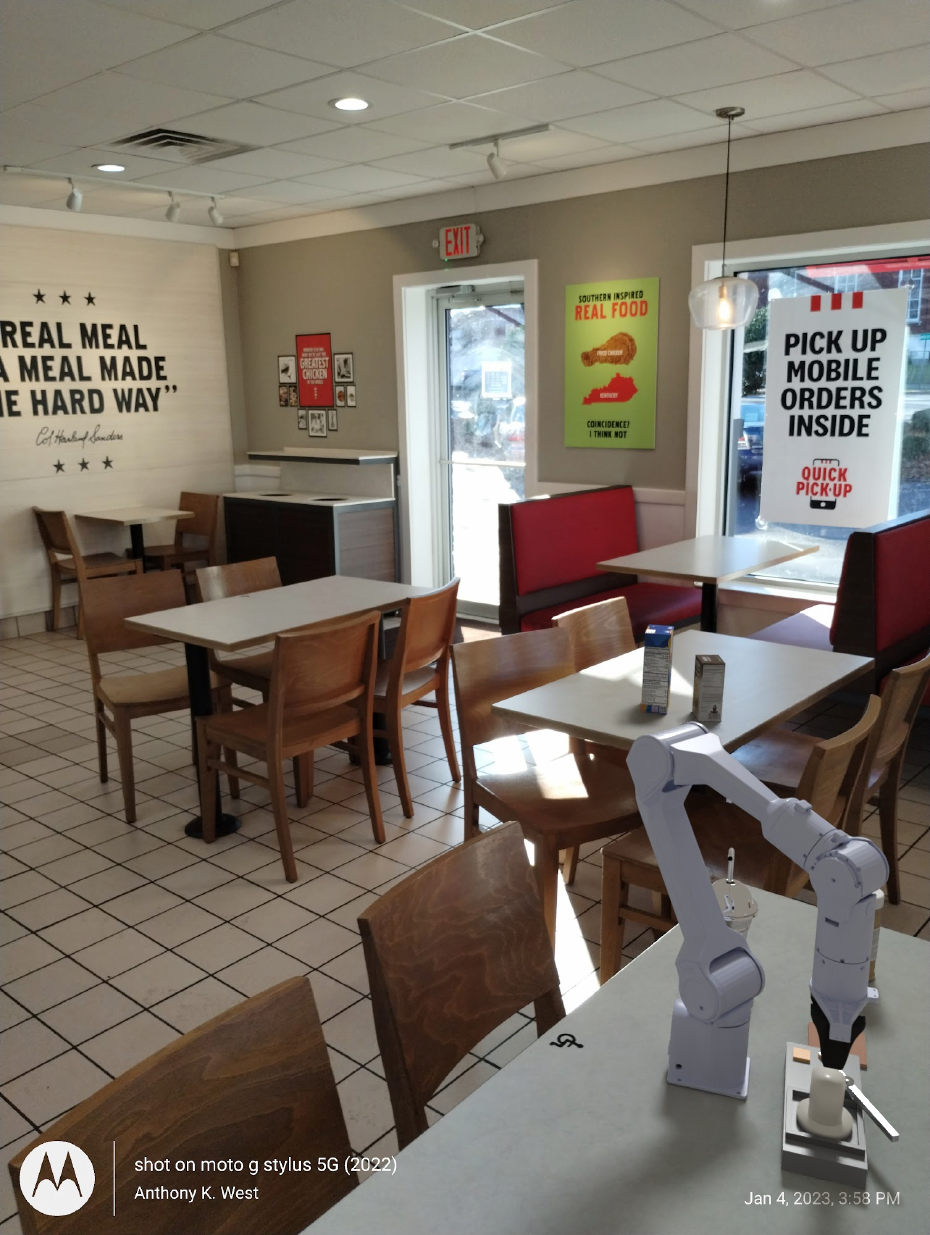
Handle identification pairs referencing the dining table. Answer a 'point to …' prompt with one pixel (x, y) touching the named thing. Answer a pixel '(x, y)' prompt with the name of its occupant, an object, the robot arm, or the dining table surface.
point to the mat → (856, 1049)
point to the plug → (825, 1106)
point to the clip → (868, 1108)
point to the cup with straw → (735, 900)
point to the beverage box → (657, 669)
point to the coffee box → (708, 687)
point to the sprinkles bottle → (876, 932)
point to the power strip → (812, 1151)
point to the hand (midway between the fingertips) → (832, 1061)
